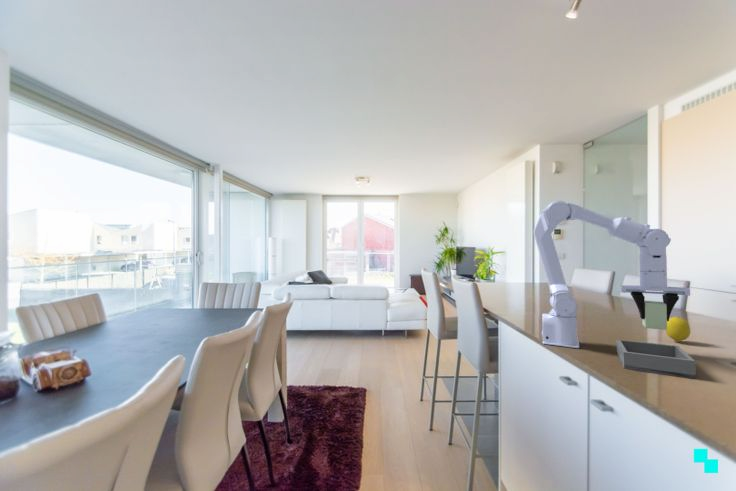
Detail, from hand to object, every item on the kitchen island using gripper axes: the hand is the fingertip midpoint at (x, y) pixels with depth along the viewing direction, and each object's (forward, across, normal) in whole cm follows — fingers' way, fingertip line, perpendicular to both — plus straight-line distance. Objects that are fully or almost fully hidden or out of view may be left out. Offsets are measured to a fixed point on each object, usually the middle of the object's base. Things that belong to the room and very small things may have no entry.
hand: (654, 319), depth 89 cm
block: (+2, 0, 0) cm, 2 cm away
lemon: (+9, +8, +15) cm, 19 cm away
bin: (+9, -3, -13) cm, 16 cm away
